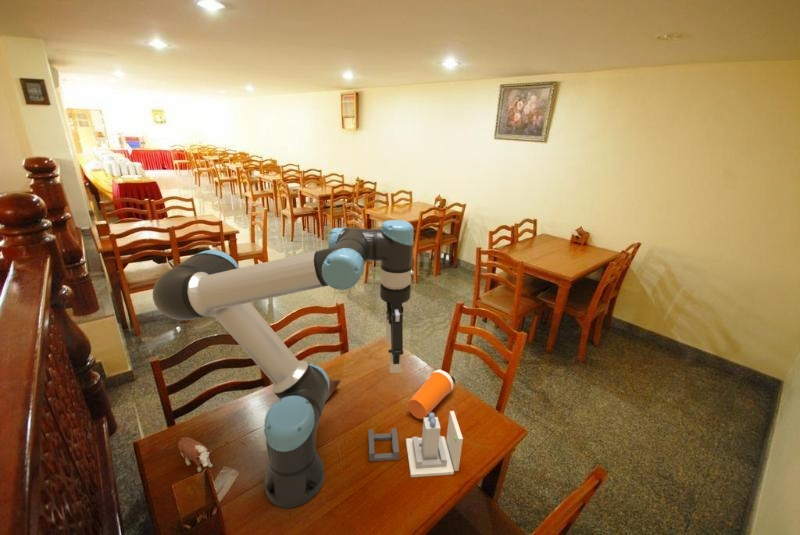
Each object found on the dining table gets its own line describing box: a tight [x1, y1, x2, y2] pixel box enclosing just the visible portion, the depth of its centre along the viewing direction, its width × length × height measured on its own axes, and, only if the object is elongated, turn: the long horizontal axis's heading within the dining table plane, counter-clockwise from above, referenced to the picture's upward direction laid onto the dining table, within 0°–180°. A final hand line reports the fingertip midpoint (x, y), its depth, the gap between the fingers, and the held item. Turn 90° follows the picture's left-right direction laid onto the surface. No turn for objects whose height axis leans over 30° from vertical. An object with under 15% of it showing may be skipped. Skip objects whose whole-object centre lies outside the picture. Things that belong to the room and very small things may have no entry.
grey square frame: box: [368, 427, 400, 462], centre depth 104 cm, size 8×8×3 cm
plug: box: [421, 411, 441, 460], centre depth 99 cm, size 4×4×14 cm
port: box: [405, 410, 464, 478], centre depth 100 cm, size 14×12×12 cm
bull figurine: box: [177, 436, 214, 473], centre depth 95 cm, size 4×13×8 cm, turn 58°
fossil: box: [326, 378, 342, 401], centre depth 121 cm, size 13×8×10 cm
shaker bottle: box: [407, 368, 456, 420], centre depth 121 cm, size 9×9×20 cm
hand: (392, 355), depth 94 cm, fingers open, 13 cm apart
